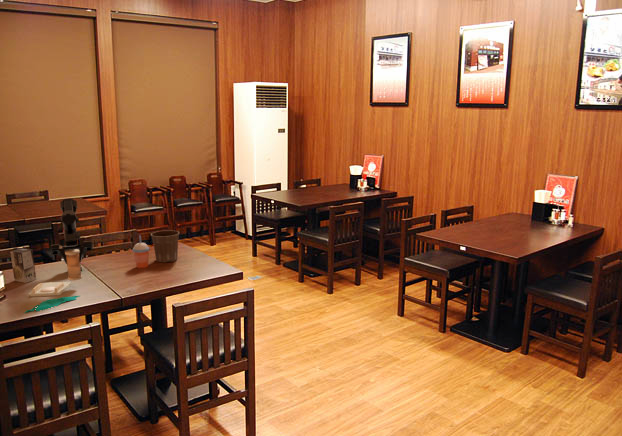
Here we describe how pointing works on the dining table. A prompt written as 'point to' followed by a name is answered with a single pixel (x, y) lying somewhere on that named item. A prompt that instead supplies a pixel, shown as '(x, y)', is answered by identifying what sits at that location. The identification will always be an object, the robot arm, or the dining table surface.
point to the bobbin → (73, 264)
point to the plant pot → (165, 245)
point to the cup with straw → (141, 254)
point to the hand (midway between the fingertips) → (73, 262)
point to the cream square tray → (50, 288)
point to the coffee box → (23, 265)
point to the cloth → (52, 303)
